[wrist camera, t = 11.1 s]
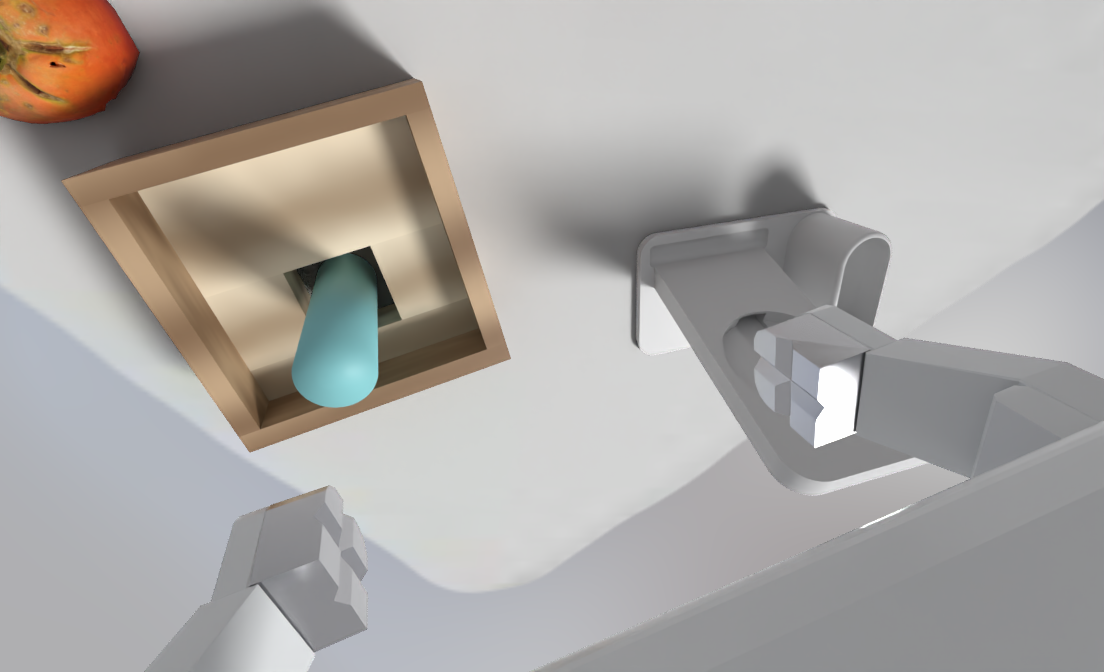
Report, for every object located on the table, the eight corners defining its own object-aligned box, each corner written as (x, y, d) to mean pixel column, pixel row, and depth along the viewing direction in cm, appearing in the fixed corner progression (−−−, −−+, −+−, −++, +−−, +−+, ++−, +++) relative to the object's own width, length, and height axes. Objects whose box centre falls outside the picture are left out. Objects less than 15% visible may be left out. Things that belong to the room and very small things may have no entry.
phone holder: (838, 204, 43) (1099, 284, 27) (816, 318, 47) (1028, 441, 32) (637, 235, 39) (809, 349, 23) (635, 356, 44) (777, 516, 28)
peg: (306, 263, 33) (276, 354, 23) (363, 245, 34) (359, 326, 23) (331, 313, 35) (313, 418, 25) (385, 296, 35) (390, 391, 25)
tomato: (-152, 61, 23) (-198, -46, 18) (-51, -44, 25) (-66, -163, 20) (78, 172, 28) (93, 112, 23) (142, 75, 30) (169, 2, 25)
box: (118, 159, 28) (61, 180, 23) (413, 78, 30) (421, 81, 25) (267, 397, 36) (249, 452, 31) (492, 319, 38) (510, 358, 33)
